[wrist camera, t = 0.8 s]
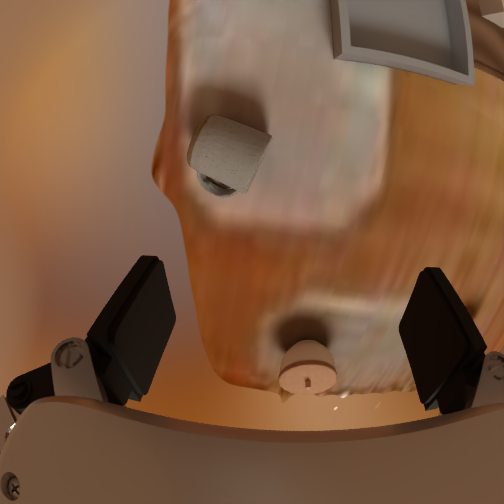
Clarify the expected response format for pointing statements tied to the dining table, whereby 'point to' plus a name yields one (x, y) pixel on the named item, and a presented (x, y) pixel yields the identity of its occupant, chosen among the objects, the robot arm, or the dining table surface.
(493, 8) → the beige block
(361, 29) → the tub
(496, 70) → the walnut tray
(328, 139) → the dining table surface
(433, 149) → the dining table surface
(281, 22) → the dining table surface
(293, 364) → the lidded jar
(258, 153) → the ceramic mug
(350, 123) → the dining table surface
